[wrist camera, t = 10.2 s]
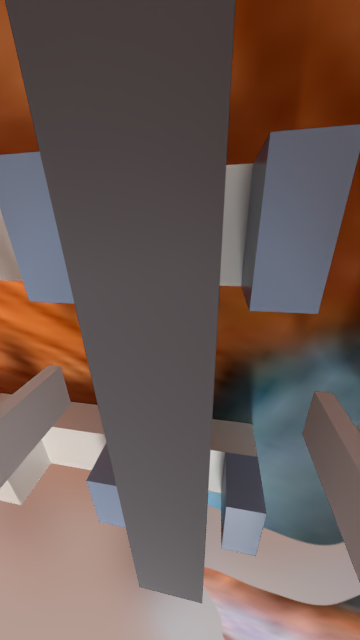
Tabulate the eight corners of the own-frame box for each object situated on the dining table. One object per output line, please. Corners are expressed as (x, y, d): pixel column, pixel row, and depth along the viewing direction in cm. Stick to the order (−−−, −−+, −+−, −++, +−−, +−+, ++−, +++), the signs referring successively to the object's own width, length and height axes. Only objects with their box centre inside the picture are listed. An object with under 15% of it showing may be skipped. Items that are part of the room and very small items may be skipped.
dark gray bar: (206, 514, 17) (202, 603, 13) (157, 505, 18) (139, 587, 14) (230, 56, 7) (245, -188, 3) (111, 73, 7) (-19, -104, 3)
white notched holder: (245, 463, 18) (255, 556, 13) (-20, 422, 22) (-89, 481, 17) (292, 174, 10) (366, 123, 5) (-142, 197, 14) (-342, 184, 9)
